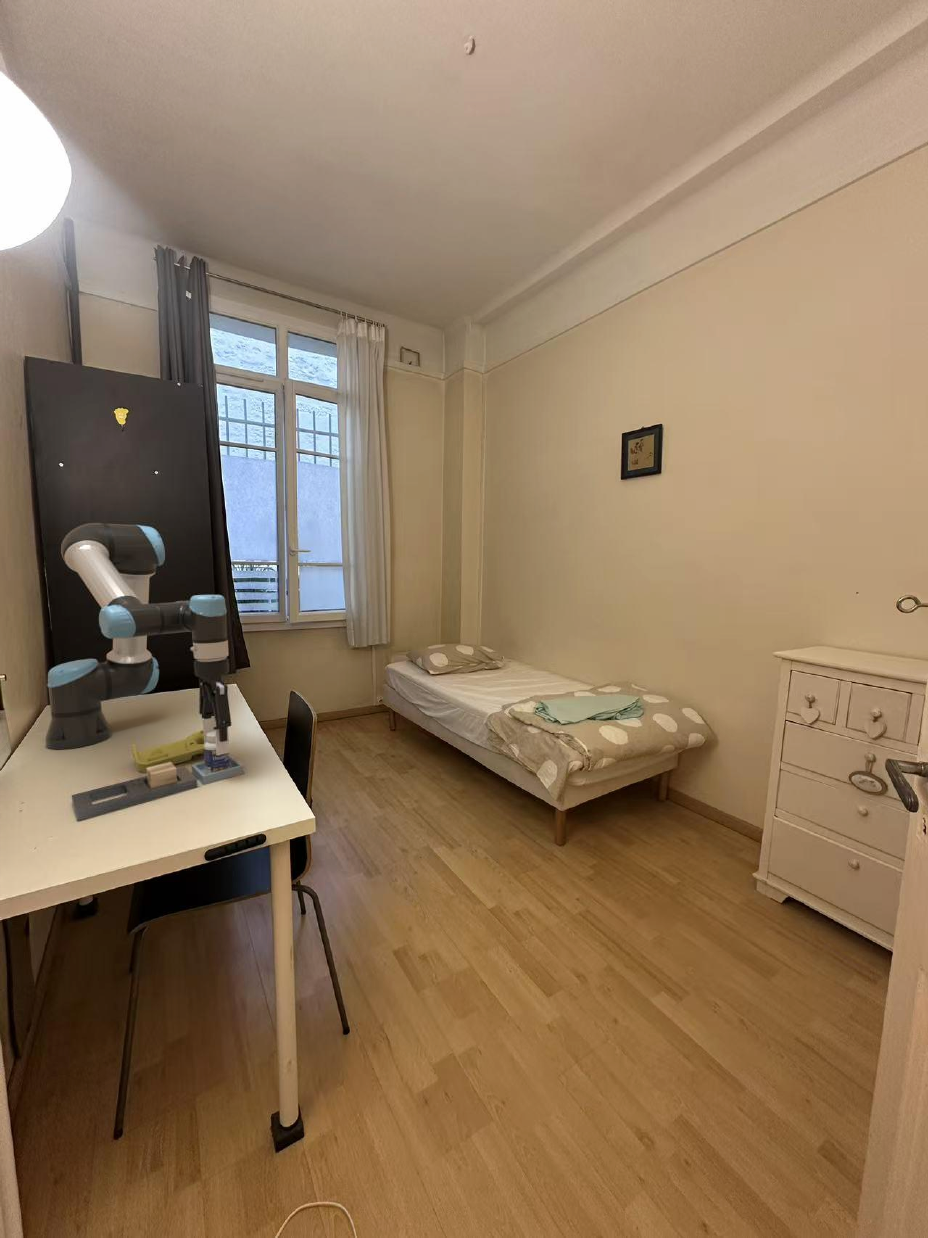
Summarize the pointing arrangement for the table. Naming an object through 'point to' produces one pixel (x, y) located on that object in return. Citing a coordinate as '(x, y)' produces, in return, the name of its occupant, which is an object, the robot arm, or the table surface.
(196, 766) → the tray
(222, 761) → the pill bottle
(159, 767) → the beech block
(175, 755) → the plastic component
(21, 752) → the table surface
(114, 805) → the rail
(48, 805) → the table surface
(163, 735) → the table surface
